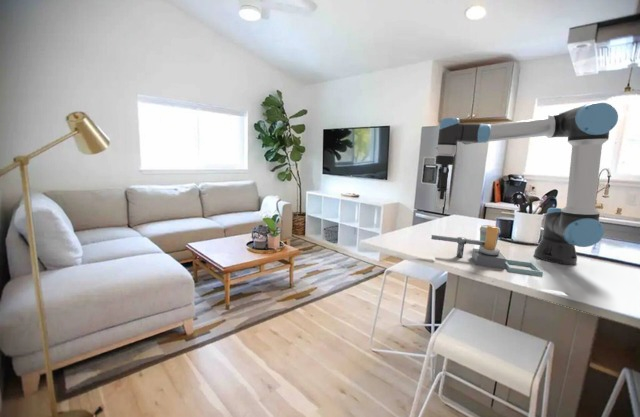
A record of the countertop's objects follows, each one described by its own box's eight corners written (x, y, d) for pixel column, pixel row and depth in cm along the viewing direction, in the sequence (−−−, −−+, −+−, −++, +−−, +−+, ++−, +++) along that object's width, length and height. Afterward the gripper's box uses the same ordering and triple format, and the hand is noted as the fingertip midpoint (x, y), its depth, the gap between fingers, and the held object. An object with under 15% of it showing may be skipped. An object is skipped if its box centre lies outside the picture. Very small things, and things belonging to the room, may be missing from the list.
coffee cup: (500, 255, 136) (504, 229, 134) (479, 253, 137) (483, 228, 135) (493, 250, 144) (497, 225, 142) (474, 248, 146) (477, 224, 144)
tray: (531, 268, 121) (532, 262, 120) (541, 278, 111) (543, 272, 110) (500, 264, 124) (501, 258, 124) (508, 273, 114) (509, 267, 113)
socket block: (497, 262, 126) (499, 251, 125) (504, 271, 116) (506, 259, 115) (452, 256, 131) (453, 245, 130) (455, 264, 121) (456, 252, 120)
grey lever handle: (489, 261, 126) (492, 241, 125) (491, 264, 123) (494, 243, 121) (429, 253, 133) (431, 233, 132) (429, 255, 130) (432, 235, 128)
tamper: (495, 261, 124) (500, 226, 122) (499, 267, 118) (505, 230, 115) (475, 258, 126) (480, 224, 124) (479, 264, 120) (484, 227, 117)
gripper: (434, 155, 142) (429, 200, 146) (437, 154, 119) (431, 207, 123) (451, 156, 140) (446, 201, 144) (458, 155, 117) (451, 209, 121)
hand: (439, 204), depth 133 cm, fingers open, 12 cm apart
